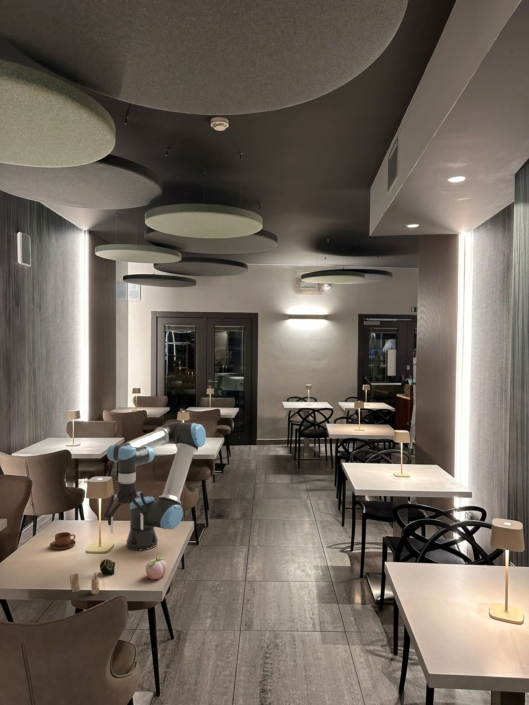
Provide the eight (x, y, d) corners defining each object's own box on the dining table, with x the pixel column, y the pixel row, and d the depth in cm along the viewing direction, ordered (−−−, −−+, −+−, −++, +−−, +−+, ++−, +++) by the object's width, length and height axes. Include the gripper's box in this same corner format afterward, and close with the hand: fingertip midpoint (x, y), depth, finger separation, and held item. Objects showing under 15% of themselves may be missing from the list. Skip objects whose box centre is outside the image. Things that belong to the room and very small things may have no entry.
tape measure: (109, 579, 235) (115, 574, 234) (97, 572, 232) (102, 567, 232) (111, 567, 241) (116, 562, 241) (98, 560, 239) (104, 555, 238)
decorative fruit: (153, 574, 238) (153, 552, 238) (169, 577, 234) (169, 554, 234) (141, 583, 229) (141, 559, 229) (157, 586, 226) (157, 562, 226)
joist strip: (77, 575, 236) (77, 573, 236) (80, 593, 219) (80, 590, 219) (70, 576, 235) (70, 574, 235) (72, 594, 218) (72, 591, 218)
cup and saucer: (64, 541, 279) (65, 529, 278) (80, 545, 272) (80, 533, 272) (44, 548, 268) (44, 535, 268) (60, 553, 262) (60, 540, 262)
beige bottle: (98, 593, 220) (98, 570, 220) (99, 596, 217) (99, 573, 217) (91, 594, 219) (91, 572, 219) (91, 597, 216) (91, 574, 216)
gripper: (153, 477, 248) (153, 524, 248) (97, 482, 239) (97, 531, 239) (156, 481, 241) (156, 529, 241) (98, 486, 232) (98, 536, 232)
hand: (126, 530), depth 240 cm, fingers open, 12 cm apart
